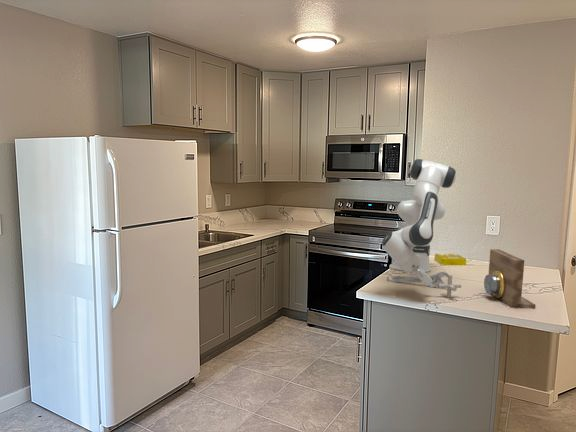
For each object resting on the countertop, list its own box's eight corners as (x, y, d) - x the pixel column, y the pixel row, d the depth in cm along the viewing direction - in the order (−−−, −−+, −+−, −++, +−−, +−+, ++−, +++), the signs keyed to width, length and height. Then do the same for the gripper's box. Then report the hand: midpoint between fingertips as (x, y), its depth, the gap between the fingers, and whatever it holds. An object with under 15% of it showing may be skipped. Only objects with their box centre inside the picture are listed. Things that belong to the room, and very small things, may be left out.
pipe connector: (433, 293, 200) (434, 272, 198) (454, 293, 200) (455, 272, 199) (442, 300, 190) (444, 277, 189) (464, 300, 191) (466, 277, 189)
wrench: (388, 286, 222) (451, 288, 208) (387, 287, 220) (450, 288, 206) (387, 270, 221) (450, 271, 207) (386, 271, 220) (449, 272, 206)
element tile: (441, 265, 261) (442, 257, 260) (433, 260, 276) (433, 252, 275) (467, 266, 261) (467, 258, 260) (457, 260, 276) (457, 253, 275)
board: (510, 307, 182) (514, 260, 180) (487, 291, 206) (490, 249, 204) (535, 308, 182) (539, 260, 180) (508, 291, 206) (512, 249, 203)
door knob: (492, 301, 188) (494, 274, 187) (481, 293, 200) (483, 267, 199) (504, 301, 188) (506, 274, 187) (492, 293, 200) (494, 267, 199)
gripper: (422, 263, 184) (444, 287, 184) (410, 254, 204) (430, 275, 205) (410, 273, 184) (432, 297, 185) (400, 263, 205) (420, 284, 205)
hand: (431, 285), depth 195 cm, fingers closed
